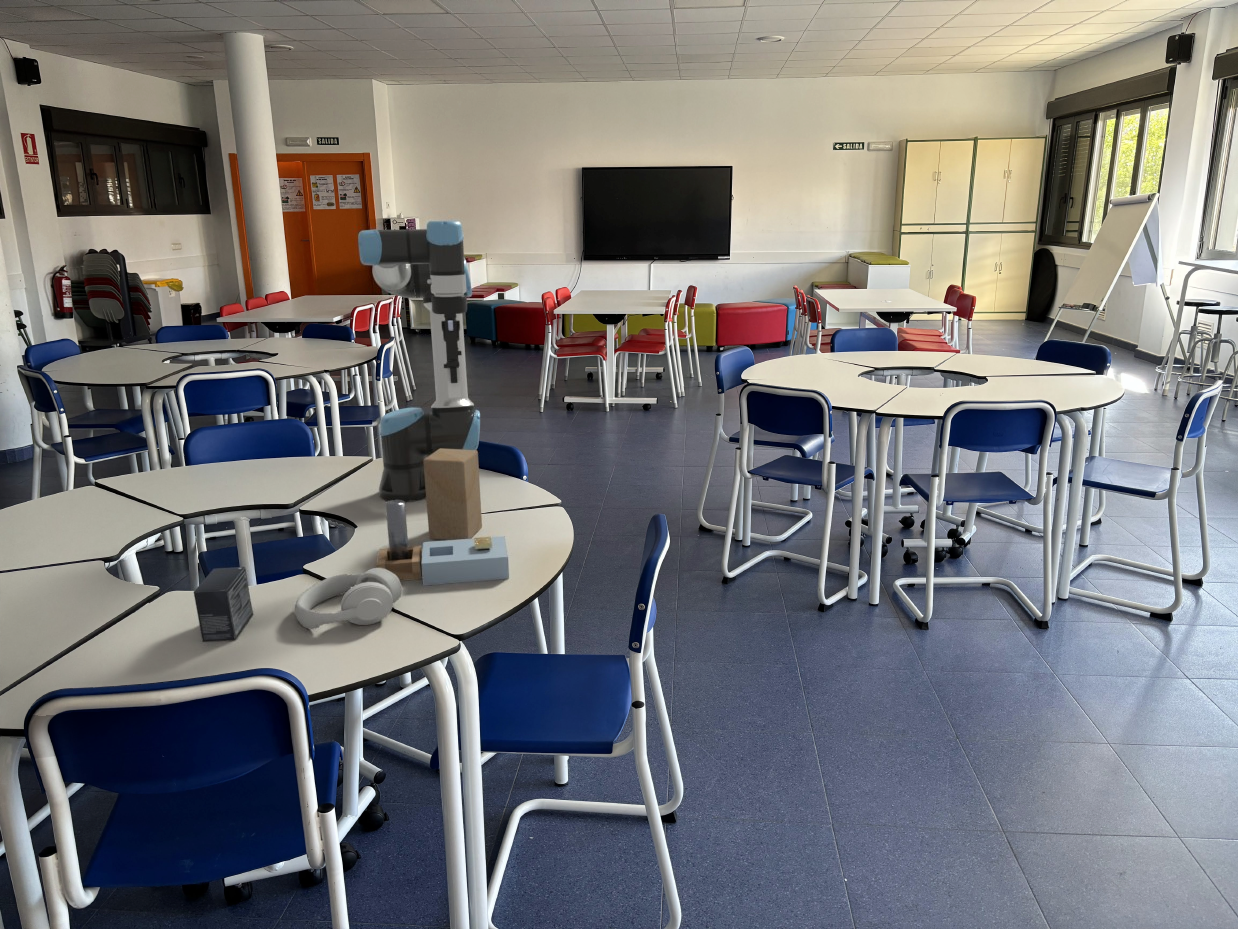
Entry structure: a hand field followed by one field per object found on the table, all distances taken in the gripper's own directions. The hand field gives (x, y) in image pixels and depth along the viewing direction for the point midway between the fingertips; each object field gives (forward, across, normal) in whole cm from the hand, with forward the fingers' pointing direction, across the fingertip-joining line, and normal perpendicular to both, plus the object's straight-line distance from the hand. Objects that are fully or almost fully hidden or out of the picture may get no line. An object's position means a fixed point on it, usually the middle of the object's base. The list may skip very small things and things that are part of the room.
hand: (455, 390), depth 194 cm
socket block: (+37, +16, 0) cm, 40 cm away
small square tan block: (+36, +16, +4) cm, 39 cm away
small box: (+37, +34, -45) cm, 67 cm away
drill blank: (+37, +14, -14) cm, 42 cm away
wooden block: (+37, -7, -2) cm, 38 cm away
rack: (+37, +14, -14) cm, 42 cm away
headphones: (+37, +32, -23) cm, 54 cm away
